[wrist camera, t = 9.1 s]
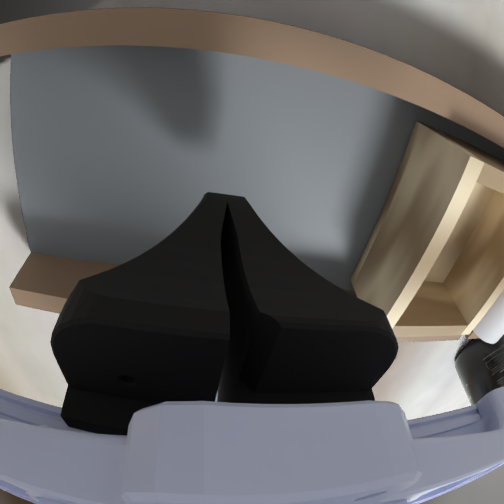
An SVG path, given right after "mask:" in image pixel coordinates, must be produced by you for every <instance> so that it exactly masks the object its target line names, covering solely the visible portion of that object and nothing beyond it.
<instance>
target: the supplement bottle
mask: <svg viewBox="0 0 504 504" xmlns="http://www.w3.org/2000/svg"><path fill="white" fill-rule="evenodd" d="M455 368H456V371H457V373H458V375H459V378H460V380H461V382H462V385H463V387H464V389H465V391H466V394H467V396H468V399H469V401H470V403H471V406H472V405H476V404H477V403H478V401H479V400H480V399H482V398H483V397H484V396H485V395H486V394H488V393H489V392H491V391H492V390H494V389H497V388H501V387H504V334H503V336H502V337H501V338H500V339H499V340H498V341H497V342H496V343H494V344H490V343H487V342H485V341H483V340H482V339H480V338H476V339H474V340H472V341H471V342H470V343H469V344H468V345H467V346H466V347H465V348H464V349H463V350H462V351H461V352H460V354H459V355H458V357H457V359H456V362H455Z"/></svg>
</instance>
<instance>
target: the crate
mask: <svg viewBox="0 0 504 504" xmlns="http://www.w3.org/2000/svg"><path fill="white" fill-rule="evenodd" d="M350 280H351V283H352V285H353V288H354V290H355V293H356V295H357V298H359V299H361V300H363V301H365V302H368V303H370V304H372V305H374V306H376V307H378V308H380V309H382V310H384V312H385V314H386V316H387V318H388V320H389V323H390V325H391V327H392V330H393V332H394V334H395V337H425V336H452V335H469V334H470V333H471V332H472V330H473V329H474V328H475V327H476V325H477V324H478V323H479V322H480V320H481V319H482V318H483V317H484V315H485V314H486V313H487V311H488V310H489V309H490V307H491V306H492V305H493V303H494V302H495V301H496V299H497V298H498V296H499V295H500V294H501V292H502V291H503V289H504V161H502V160H500V159H498V158H496V157H494V156H493V155H491V154H489V153H487V152H485V151H483V150H481V149H479V148H477V147H475V146H473V145H471V144H469V143H466V142H464V141H462V140H460V139H458V138H456V137H453V136H451V135H449V134H447V133H444V132H442V131H440V130H437V129H435V128H433V127H430V126H428V125H425V124H423V123H420V122H418V121H416V123H415V126H414V128H413V131H412V134H411V137H410V140H409V142H408V145H407V148H406V151H405V153H404V156H403V159H402V161H401V164H400V166H399V169H398V172H397V174H396V177H395V179H394V182H393V184H392V187H391V189H390V192H389V194H388V196H387V199H386V201H385V204H384V206H383V208H382V211H381V213H380V215H379V218H378V220H377V222H376V225H375V227H374V229H373V231H372V234H371V236H370V238H369V240H368V242H367V245H366V247H365V249H364V251H363V253H362V255H361V258H360V260H359V262H358V264H357V266H356V268H355V270H354V272H353V274H352V276H351V278H350Z"/></svg>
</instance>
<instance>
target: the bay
mask: <svg viewBox="0 0 504 504" xmlns="http://www.w3.org/2000/svg"><path fill="white" fill-rule="evenodd" d="M10 54H11V73H10V105H11V128H12V142H13V152H14V162H15V170H16V178H17V185H18V191H19V197H20V203H21V208H22V214H23V219H24V224H25V228H26V233H27V237H28V242H29V246H30V250H31V253H30V255H29V257H28V258H27V260H26V261H25V263H24V264H23V266H22V267H21V269H20V271H19V272H18V274H17V275H16V277H15V279H14V280H13V282H12V284H11V285H10V287H9V288H10V290H11V293H12V296H13V298H14V301H15V303H16V304H17V305H22V306H26V307H31V308H35V309H40V310H45V311H50V312H55V313H61V311H62V309H63V306H64V304H65V303H66V301H67V299H68V297H69V295H70V294H71V292H72V291H73V290H74V288H75V286H76V285H77V283H78V281H79V280H81V279H84V278H87V277H90V276H93V275H96V274H99V273H101V272H104V271H107V270H110V269H112V268H114V267H117V266H119V265H121V264H123V263H126V262H128V261H130V260H132V259H134V258H136V257H138V256H139V255H141V254H143V253H144V252H146V251H148V250H149V249H151V248H152V247H154V246H155V245H157V244H158V243H160V242H161V241H162V240H164V239H165V238H166V237H167V236H169V235H170V234H171V233H172V232H173V231H174V230H175V229H176V228H177V227H178V226H179V225H180V224H181V223H182V222H184V221H185V220H186V218H187V217H188V216H189V215H190V214H191V213H192V212H193V210H194V209H195V208H196V207H197V205H198V204H199V203H200V201H201V200H202V198H203V196H204V194H206V193H207V192H213V193H220V194H228V195H235V196H242V197H245V198H246V200H247V201H248V202H249V204H250V205H251V207H252V208H253V209H254V211H255V212H256V214H257V215H258V216H259V218H260V219H261V220H262V221H263V223H264V224H265V225H266V226H267V228H268V229H269V230H270V231H271V232H272V233H273V234H274V235H275V237H276V238H277V239H278V240H279V241H280V242H281V243H282V244H283V245H284V246H285V247H286V248H287V249H288V250H289V251H290V252H292V253H293V254H294V255H295V256H296V257H297V258H298V259H299V260H301V261H302V262H303V263H304V264H306V265H307V266H308V267H309V268H311V269H312V270H314V271H315V272H316V273H318V274H319V275H321V276H322V277H323V278H325V279H326V280H328V281H330V282H331V283H333V284H334V285H336V286H338V287H339V288H341V289H343V290H344V291H346V292H348V293H350V294H351V295H353V296H355V297H357V295H356V293H355V290H354V288H353V285H352V283H351V280H350V278H351V276H352V274H353V272H354V270H355V268H356V266H357V264H358V262H359V260H360V258H361V255H362V253H363V251H364V249H365V247H366V245H367V242H368V240H369V238H370V236H371V234H372V231H373V229H374V227H375V225H376V222H377V220H378V218H379V215H380V213H381V211H382V208H383V206H384V204H385V201H386V199H387V196H388V194H389V192H390V189H391V187H392V184H393V182H394V179H395V177H396V174H397V172H398V169H399V166H400V164H401V161H402V159H403V156H404V153H405V151H406V148H407V145H408V142H409V140H410V137H411V134H412V131H413V128H414V126H415V123H416V121H418V122H420V123H423V124H425V125H428V126H430V127H433V128H435V129H437V130H440V131H442V132H444V133H447V134H449V135H451V136H453V137H456V138H458V139H460V140H462V141H464V142H466V143H469V144H471V145H473V146H475V147H477V148H479V149H481V150H483V151H485V152H487V153H489V154H491V155H493V156H494V157H496V158H498V159H500V160H502V161H504V117H503V116H502V115H500V114H499V113H497V112H496V111H494V110H493V109H491V108H489V107H488V106H486V105H485V104H483V103H481V102H480V101H478V100H476V99H475V98H473V97H471V96H469V95H468V94H466V93H464V92H462V91H460V90H459V89H457V88H455V87H453V86H451V85H449V84H447V83H445V82H443V81H442V80H440V79H438V78H436V77H434V76H431V75H429V74H427V73H425V72H423V71H421V70H419V69H417V68H414V67H412V66H410V65H408V64H405V63H403V62H401V61H398V60H396V59H394V58H391V57H389V56H386V55H384V54H381V53H378V52H376V51H373V50H370V49H368V48H365V47H362V46H359V45H356V44H353V43H350V42H347V41H344V40H341V39H338V38H335V37H332V36H328V35H325V34H321V33H318V32H314V31H310V30H307V29H303V28H299V27H295V26H291V25H286V24H282V23H277V22H272V21H268V20H262V19H257V18H251V17H246V16H239V15H233V14H225V13H218V12H209V11H199V10H187V9H172V8H107V9H91V10H80V11H71V12H62V13H55V14H48V15H42V16H36V17H31V18H26V19H21V20H16V21H12V22H7V23H3V24H0V56H4V55H10ZM503 334H504V289H503V291H502V292H501V294H500V295H499V296H498V298H497V299H496V301H495V302H494V303H493V305H492V306H491V307H490V309H489V310H488V311H487V313H486V314H485V315H484V317H483V318H482V319H481V320H480V322H479V323H478V324H477V325H476V327H475V328H474V329H473V330H472V332H471V333H470V334H469V335H465V336H466V338H467V339H476V338H480V339H482V340H483V341H485V342H487V343H490V344H494V343H496V342H497V341H498V340H499V339H500V338H501V337H502V336H503ZM461 336H462V335H452V336H425V337H396V339H397V342H423V341H445V340H458V339H459V338H460V337H461Z"/></svg>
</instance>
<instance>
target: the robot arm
mask: <svg viewBox="0 0 504 504" xmlns="http://www.w3.org/2000/svg"><path fill="white" fill-rule="evenodd" d="M50 343H51V347H52V350H53V354H54V356H55V358H56V360H57V363H58V365H59V367H60V369H61V371H62V373H63V375H64V377H65V379H66V381H67V383H68V388H67V392H66V395H65V399H64V403H63V407H62V408H60V407H56V406H53V405H49V404H45V403H42V402H38V401H35V400H32V399H29V398H25V397H22V396H19V395H16V394H13V393H10V392H7V391H4V390H2V389H0V489H2V490H4V491H7V492H9V493H11V494H14V495H16V496H19V497H21V498H23V499H25V500H28V501H31V502H33V503H36V504H419V503H421V502H424V501H427V500H430V499H432V498H435V497H437V496H440V495H442V494H444V493H447V492H449V491H451V490H454V489H456V488H458V487H460V486H463V485H465V484H467V483H469V482H471V481H473V480H475V479H477V478H479V477H481V476H483V475H485V474H487V473H489V472H491V471H492V470H494V469H496V468H497V467H499V466H501V465H502V464H504V387H501V388H497V389H494V390H492V391H491V392H489V393H488V394H486V395H485V396H484V397H483V398H482V399H480V400H479V401H478V403H477V404H476V405H472V406H469V407H465V408H461V409H457V410H453V411H449V412H445V413H441V414H436V415H432V416H427V417H422V418H417V419H412V420H407V419H406V416H405V413H404V411H403V410H402V409H401V407H400V406H399V405H398V404H396V403H393V402H388V401H375V398H374V395H373V392H372V387H373V386H374V385H375V384H376V383H377V382H378V380H379V379H380V378H381V377H382V376H383V375H384V373H385V372H386V371H387V370H388V369H389V367H390V366H391V364H392V363H393V361H394V359H395V358H396V355H397V352H398V343H397V339H396V337H395V334H394V332H393V330H392V327H391V325H390V323H389V320H388V318H387V316H386V314H385V312H384V310H382V309H380V308H378V307H376V306H374V305H372V304H370V303H368V302H365V301H363V300H361V299H359V298H357V297H355V296H353V295H351V294H350V293H348V292H346V291H344V290H343V289H341V288H339V287H338V286H336V285H334V284H333V283H331V282H330V281H328V280H326V279H325V278H323V277H322V276H321V275H319V274H318V273H316V272H315V271H314V270H312V269H311V268H309V267H308V266H307V265H306V264H304V263H303V262H302V261H301V260H299V259H298V258H297V257H296V256H295V255H294V254H293V253H292V252H290V251H289V250H288V249H287V248H286V247H285V246H284V245H283V244H282V243H281V242H280V241H279V240H278V239H277V238H276V237H275V235H274V234H273V233H272V232H271V231H270V230H269V229H268V228H267V226H266V225H265V224H264V223H263V221H262V220H261V219H260V218H259V216H258V215H257V214H256V212H255V211H254V209H253V208H252V207H251V205H250V204H249V202H248V201H247V200H246V198H245V197H242V196H235V195H228V194H220V193H213V192H207V193H206V194H204V196H203V198H202V200H201V201H200V203H199V204H198V205H197V207H196V208H195V209H194V210H193V212H192V213H191V214H190V215H189V216H188V217H187V218H186V220H185V221H184V222H182V223H181V224H180V225H179V226H178V227H177V228H176V229H175V230H174V231H173V232H172V233H171V234H170V235H169V236H167V237H166V238H165V239H164V240H162V241H161V242H160V243H158V244H157V245H155V246H154V247H152V248H151V249H149V250H148V251H146V252H144V253H143V254H141V255H139V256H138V257H136V258H134V259H132V260H130V261H128V262H126V263H123V264H121V265H119V266H117V267H114V268H112V269H110V270H107V271H104V272H101V273H99V274H96V275H93V276H90V277H87V278H84V279H81V280H79V281H78V283H77V285H76V286H75V288H74V290H73V291H72V292H71V294H70V295H69V297H68V299H67V301H66V303H65V304H64V306H63V309H62V311H61V313H60V315H59V318H58V320H57V323H56V325H55V327H54V330H53V332H52V337H51V342H50Z"/></svg>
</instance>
